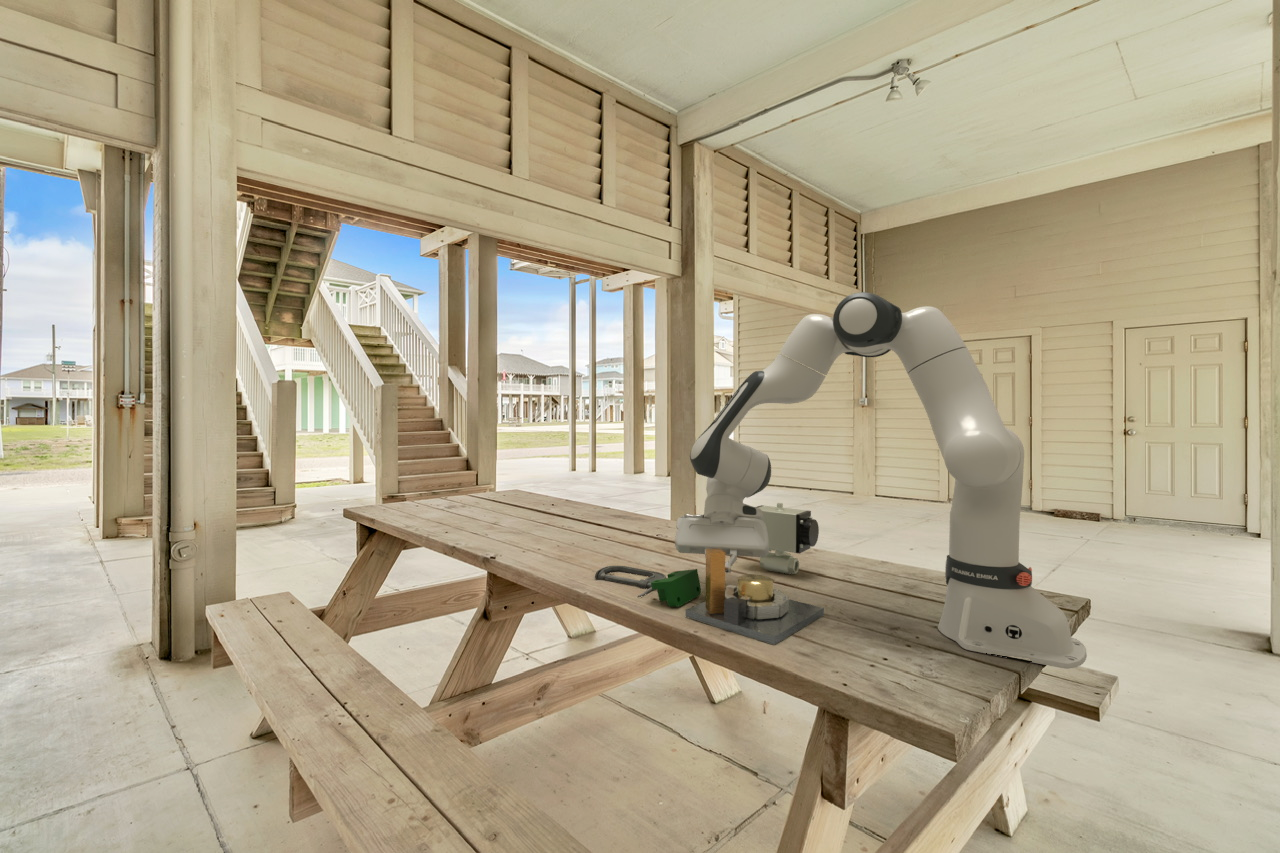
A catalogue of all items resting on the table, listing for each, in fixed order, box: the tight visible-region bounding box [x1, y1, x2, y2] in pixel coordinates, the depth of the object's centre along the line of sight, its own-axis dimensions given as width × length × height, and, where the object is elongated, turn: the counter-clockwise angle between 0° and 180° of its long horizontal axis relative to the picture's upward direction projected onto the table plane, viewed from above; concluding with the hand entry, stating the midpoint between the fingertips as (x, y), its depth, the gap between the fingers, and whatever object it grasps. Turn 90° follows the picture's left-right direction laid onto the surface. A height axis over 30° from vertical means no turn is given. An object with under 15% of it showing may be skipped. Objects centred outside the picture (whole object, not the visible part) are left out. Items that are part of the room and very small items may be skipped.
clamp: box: [651, 568, 702, 608], centre depth 126 cm, size 12×6×9 cm, turn 140°
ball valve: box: [755, 502, 820, 575], centre depth 148 cm, size 18×8×18 cm, turn 52°
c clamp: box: [594, 565, 667, 598], centre depth 140 cm, size 20×17×3 cm
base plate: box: [684, 573, 825, 646], centre depth 116 cm, size 20×20×8 cm
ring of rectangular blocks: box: [705, 548, 790, 619], centre depth 116 cm, size 16×12×12 cm
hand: (719, 570), depth 121 cm, fingers closed
